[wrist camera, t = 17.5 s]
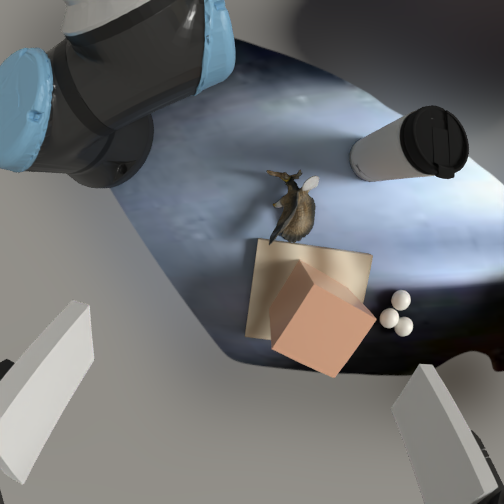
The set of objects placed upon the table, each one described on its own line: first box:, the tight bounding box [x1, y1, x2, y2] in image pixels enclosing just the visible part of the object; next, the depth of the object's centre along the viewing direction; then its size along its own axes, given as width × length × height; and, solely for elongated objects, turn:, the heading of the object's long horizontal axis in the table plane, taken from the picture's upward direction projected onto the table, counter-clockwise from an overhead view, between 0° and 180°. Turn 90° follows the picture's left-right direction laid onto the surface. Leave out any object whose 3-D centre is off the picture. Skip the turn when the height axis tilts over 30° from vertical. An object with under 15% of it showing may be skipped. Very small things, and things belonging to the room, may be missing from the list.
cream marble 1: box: [380, 308, 399, 328], centre depth 43 cm, size 3×3×3 cm
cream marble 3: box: [394, 317, 413, 336], centre depth 43 cm, size 3×3×3 cm
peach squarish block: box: [269, 259, 376, 378], centre depth 37 cm, size 8×8×12 cm
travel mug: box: [349, 106, 469, 182], centre depth 31 cm, size 6×7×20 cm
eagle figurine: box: [267, 170, 319, 245], centre depth 39 cm, size 8×7×9 cm
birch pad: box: [245, 238, 373, 340], centre depth 43 cm, size 16×14×2 cm
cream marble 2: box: [391, 290, 411, 310], centre depth 42 cm, size 3×3×3 cm
